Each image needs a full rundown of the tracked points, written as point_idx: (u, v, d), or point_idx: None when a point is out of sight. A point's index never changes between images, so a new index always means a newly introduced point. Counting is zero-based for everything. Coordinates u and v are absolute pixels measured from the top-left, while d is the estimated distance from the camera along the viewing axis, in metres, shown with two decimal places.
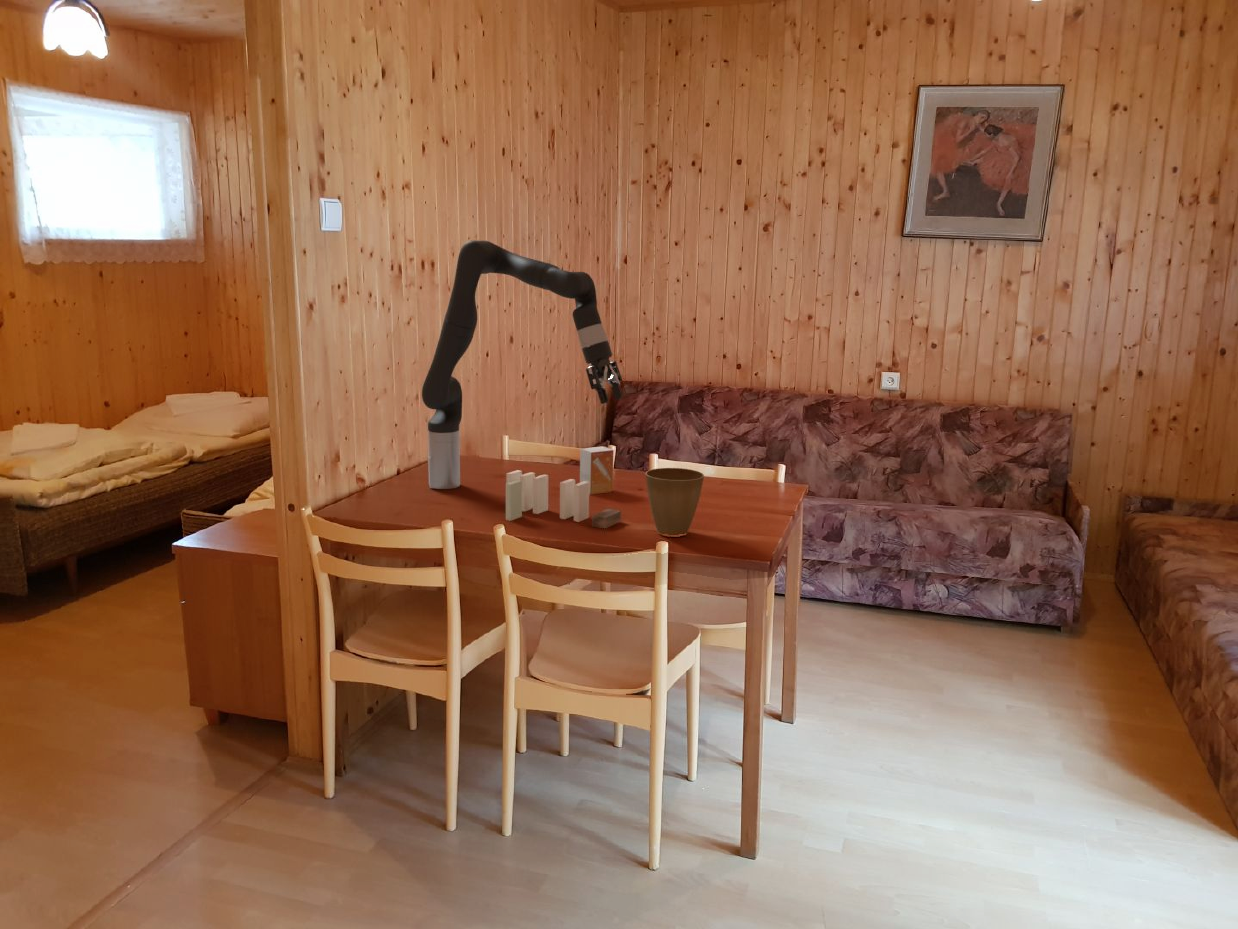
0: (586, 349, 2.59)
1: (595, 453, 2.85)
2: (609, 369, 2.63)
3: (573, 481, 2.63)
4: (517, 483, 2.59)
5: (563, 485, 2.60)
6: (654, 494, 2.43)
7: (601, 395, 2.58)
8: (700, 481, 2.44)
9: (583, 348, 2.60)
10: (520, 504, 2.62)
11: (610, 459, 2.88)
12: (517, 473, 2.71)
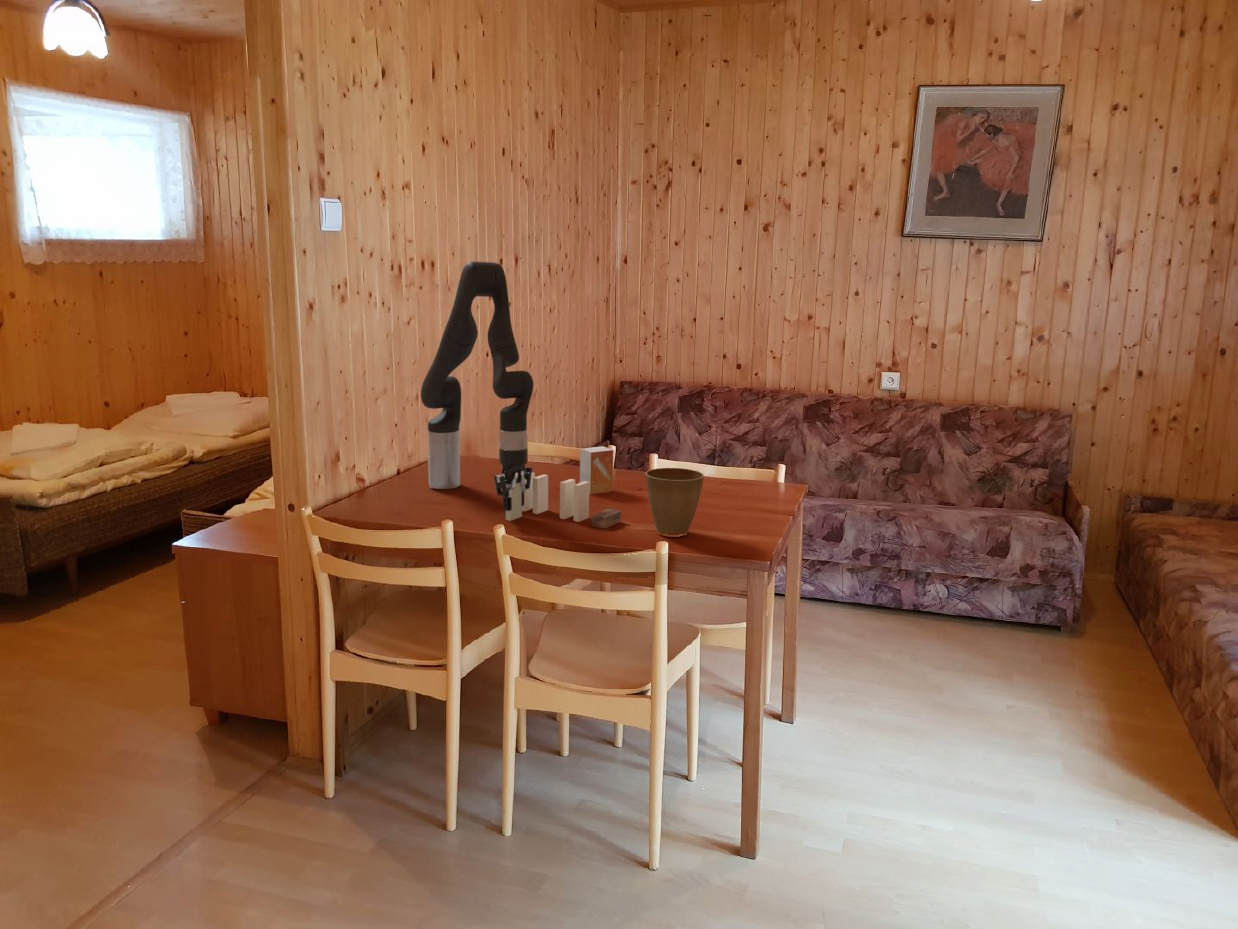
0: (502, 451, 2.55)
1: (595, 453, 2.85)
2: (520, 475, 2.59)
3: (573, 481, 2.63)
4: (517, 483, 2.59)
5: (563, 485, 2.60)
6: (654, 494, 2.43)
7: (505, 503, 2.57)
8: (700, 481, 2.44)
9: (500, 449, 2.55)
10: (520, 504, 2.62)
11: (610, 459, 2.88)
12: None
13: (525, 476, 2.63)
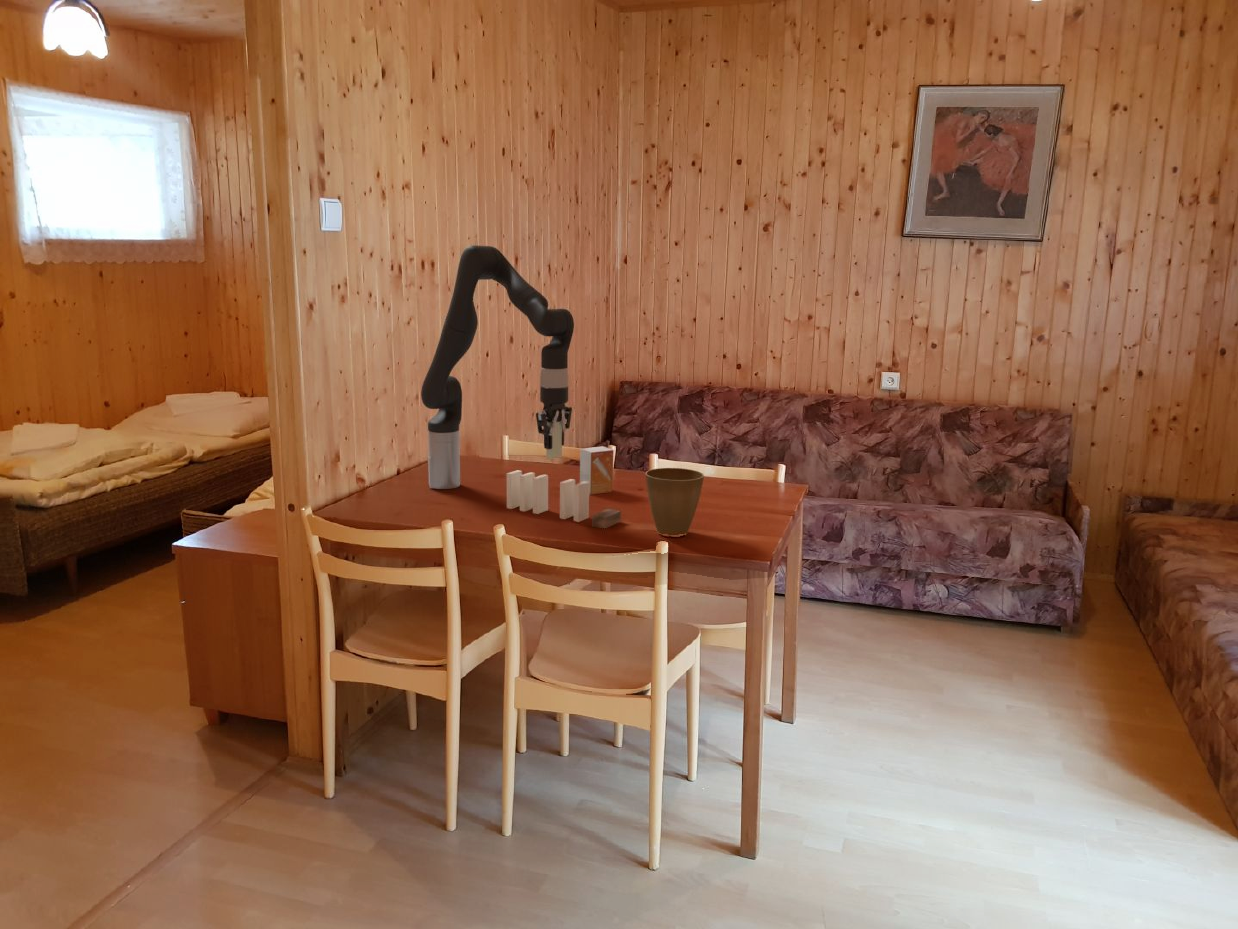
0: (543, 389, 2.56)
1: (595, 453, 2.85)
2: (560, 413, 2.60)
3: (573, 481, 2.63)
4: (558, 422, 2.61)
5: (563, 485, 2.60)
6: (654, 494, 2.43)
7: (546, 441, 2.58)
8: (700, 481, 2.44)
9: (541, 387, 2.57)
10: (560, 443, 2.63)
11: (610, 459, 2.88)
12: (517, 473, 2.71)
13: (565, 416, 2.64)
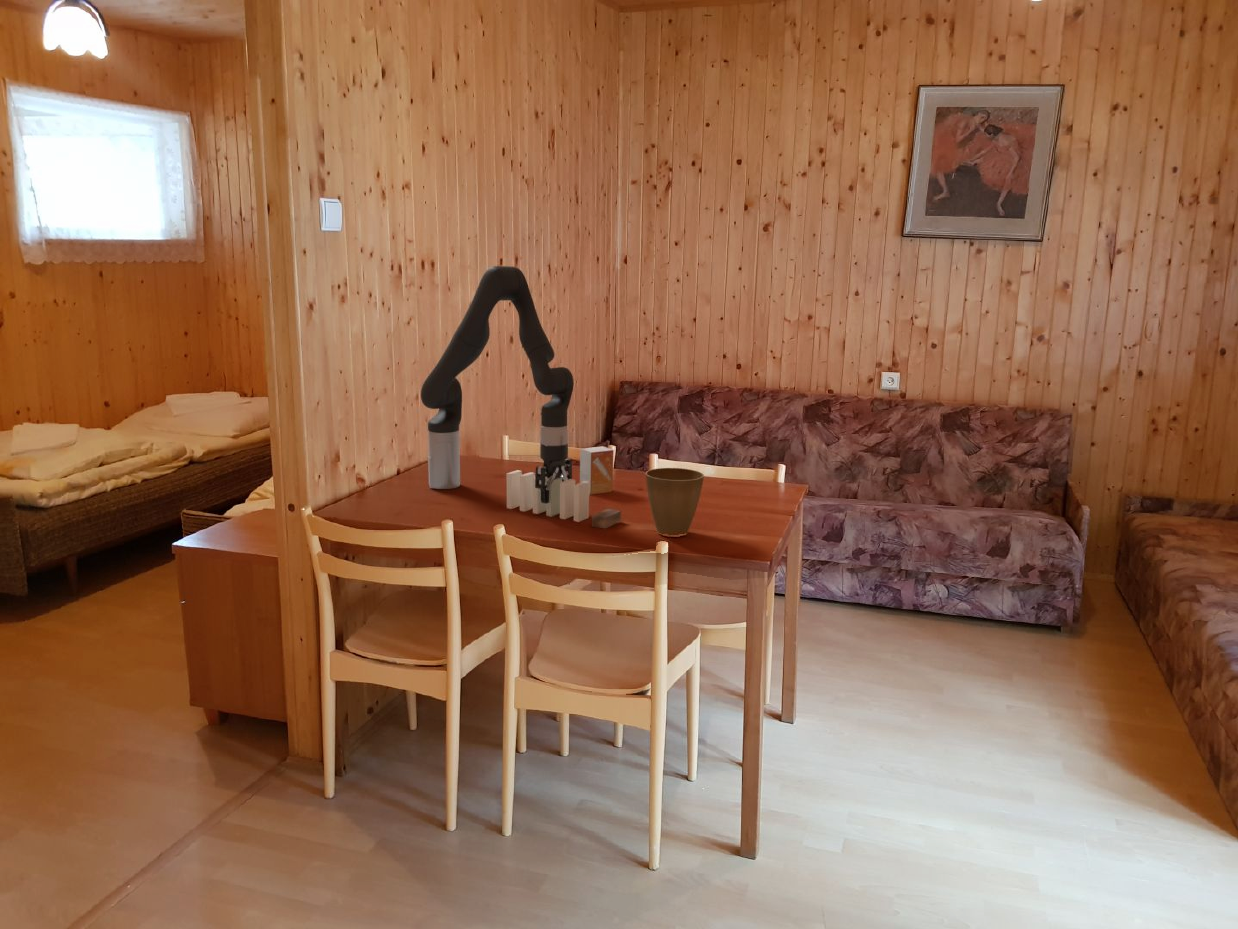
0: (543, 447, 2.59)
1: (595, 453, 2.85)
2: (560, 470, 2.63)
3: (573, 481, 2.63)
4: (558, 479, 2.64)
5: (563, 485, 2.60)
6: (654, 494, 2.43)
7: (543, 495, 2.60)
8: (700, 481, 2.44)
9: (541, 444, 2.60)
10: None
11: (610, 459, 2.88)
12: (517, 473, 2.71)
13: (566, 468, 2.68)
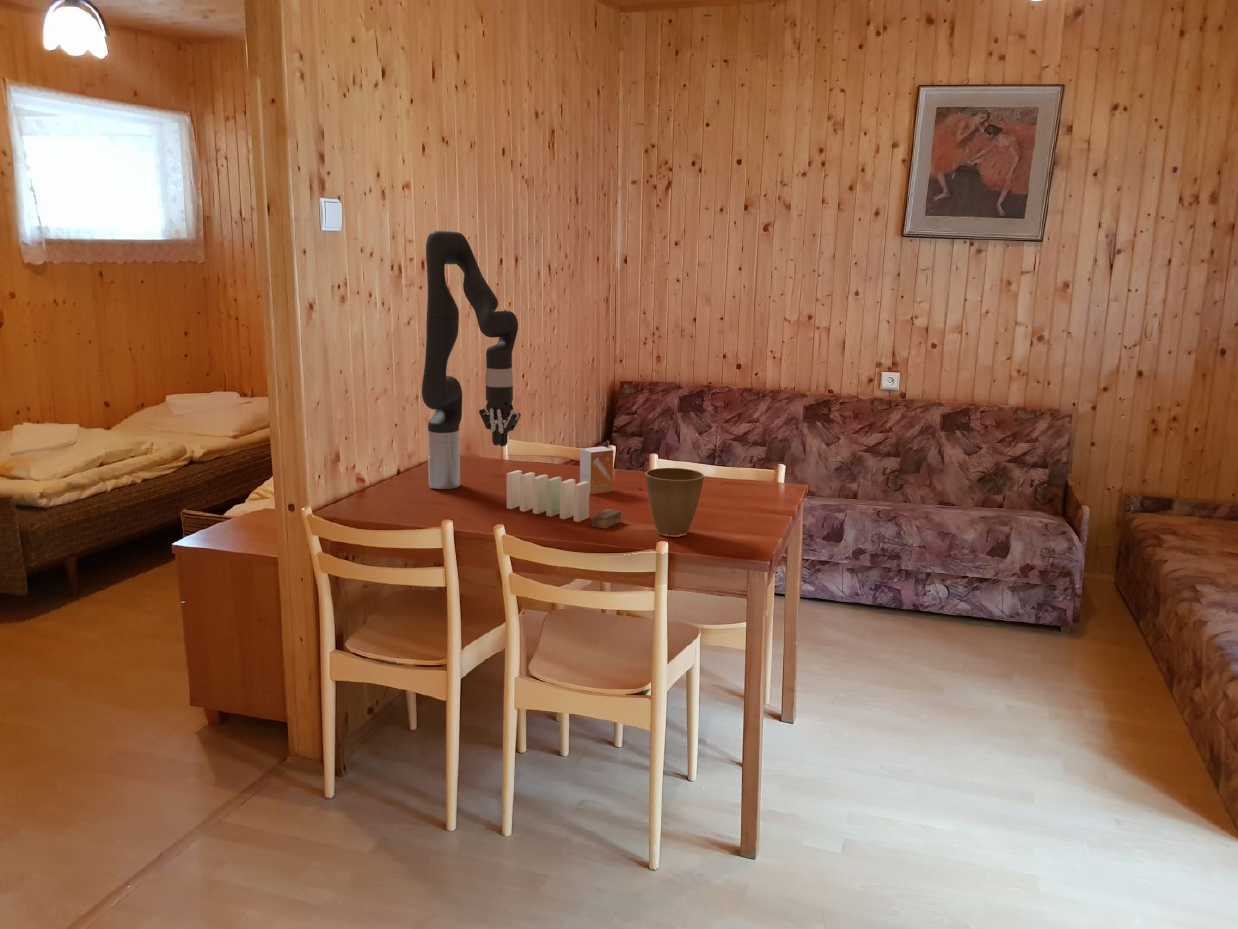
0: None
1: (595, 453, 2.85)
2: None
3: (573, 481, 2.63)
4: (557, 479, 2.64)
5: (563, 485, 2.60)
6: (654, 494, 2.43)
7: None
8: (700, 481, 2.44)
9: None
10: None
11: (610, 459, 2.88)
12: (517, 473, 2.71)
13: None
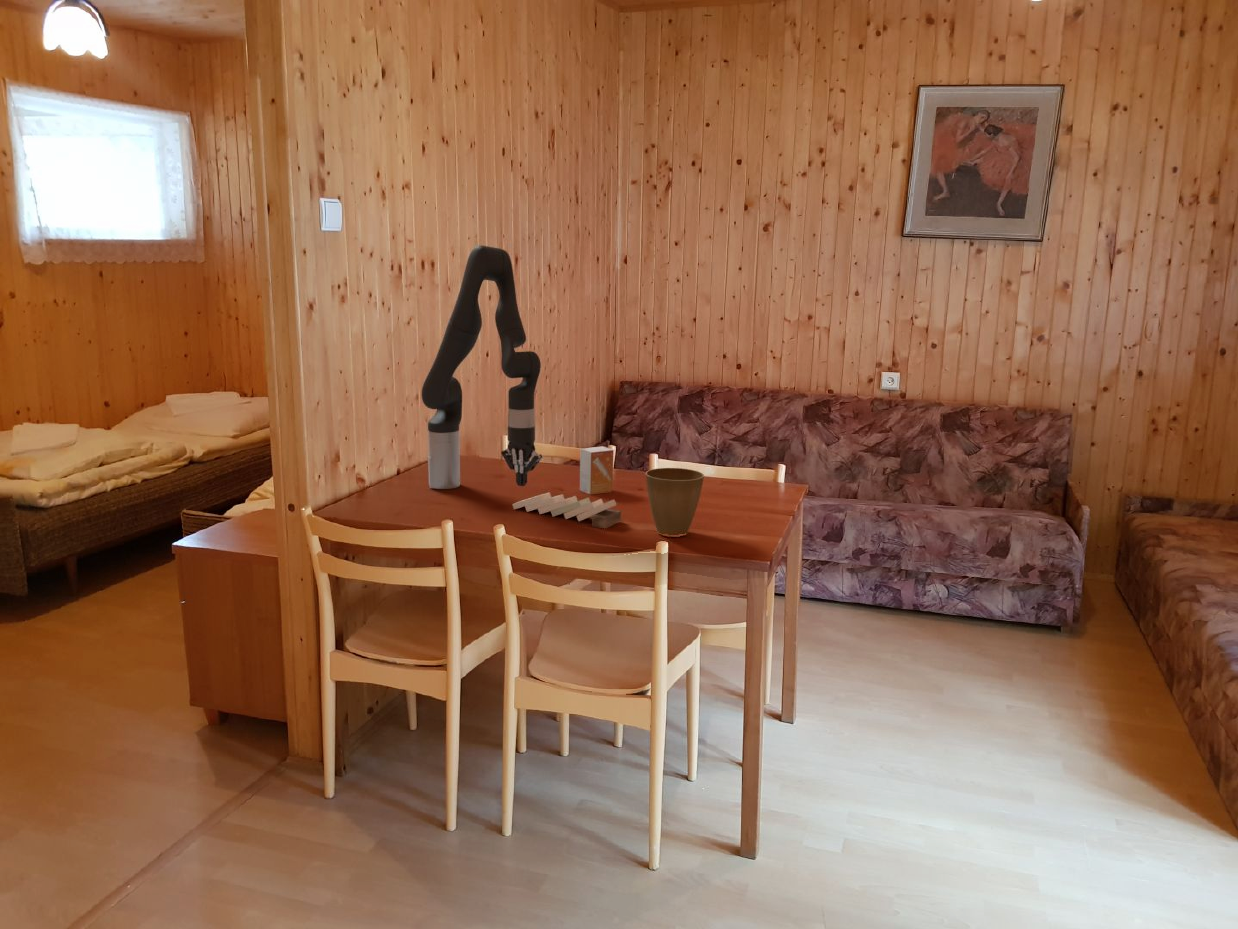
0: None
1: (595, 453, 2.85)
2: None
3: None
4: (586, 504, 2.61)
5: (591, 507, 2.56)
6: (654, 494, 2.43)
7: None
8: (700, 481, 2.44)
9: None
10: None
11: (610, 459, 2.88)
12: None
13: None
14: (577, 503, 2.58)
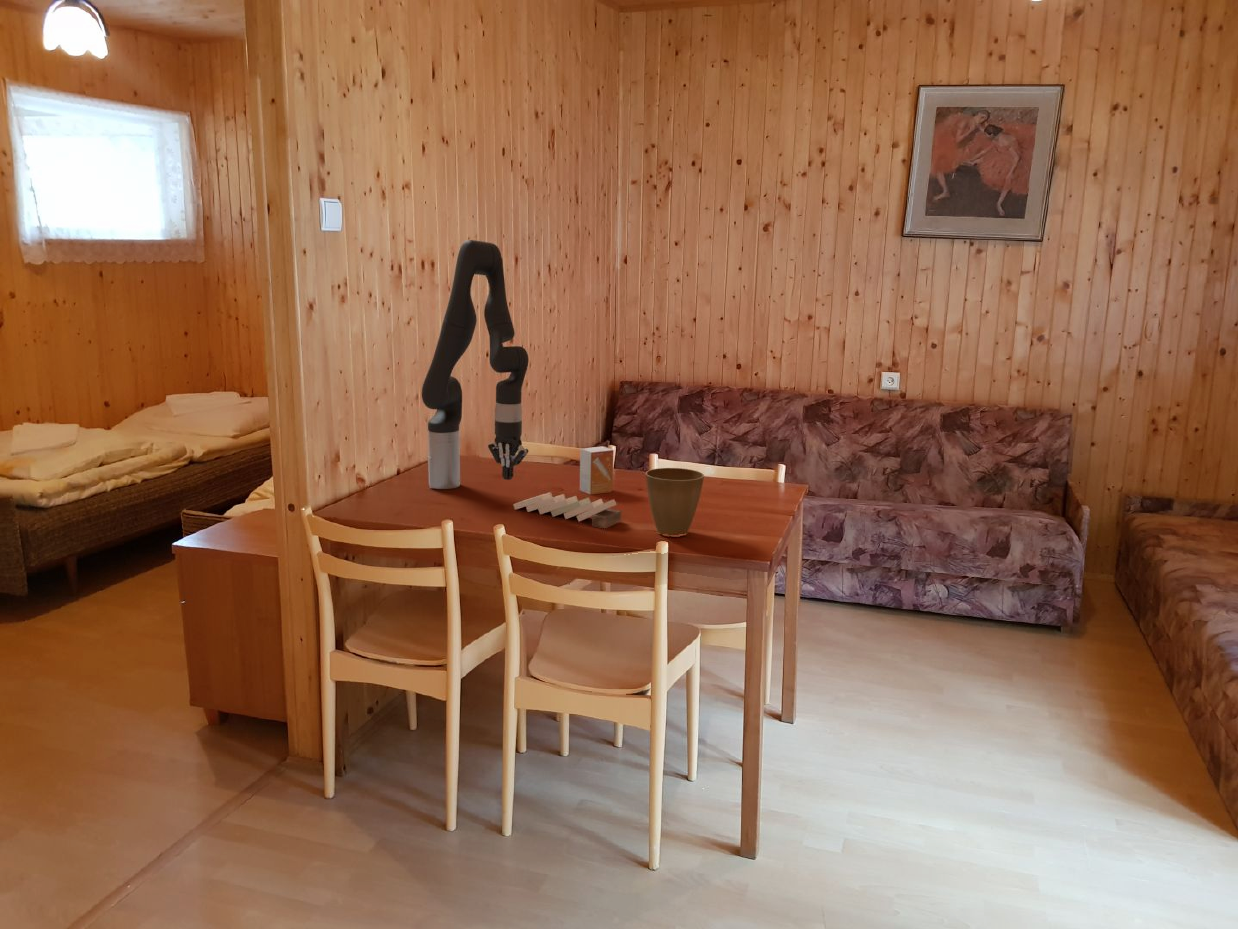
0: None
1: (595, 453, 2.85)
2: None
3: None
4: (586, 504, 2.61)
5: (591, 507, 2.56)
6: (654, 494, 2.43)
7: None
8: (700, 481, 2.44)
9: None
10: None
11: (610, 459, 2.88)
12: None
13: None
14: (577, 503, 2.58)
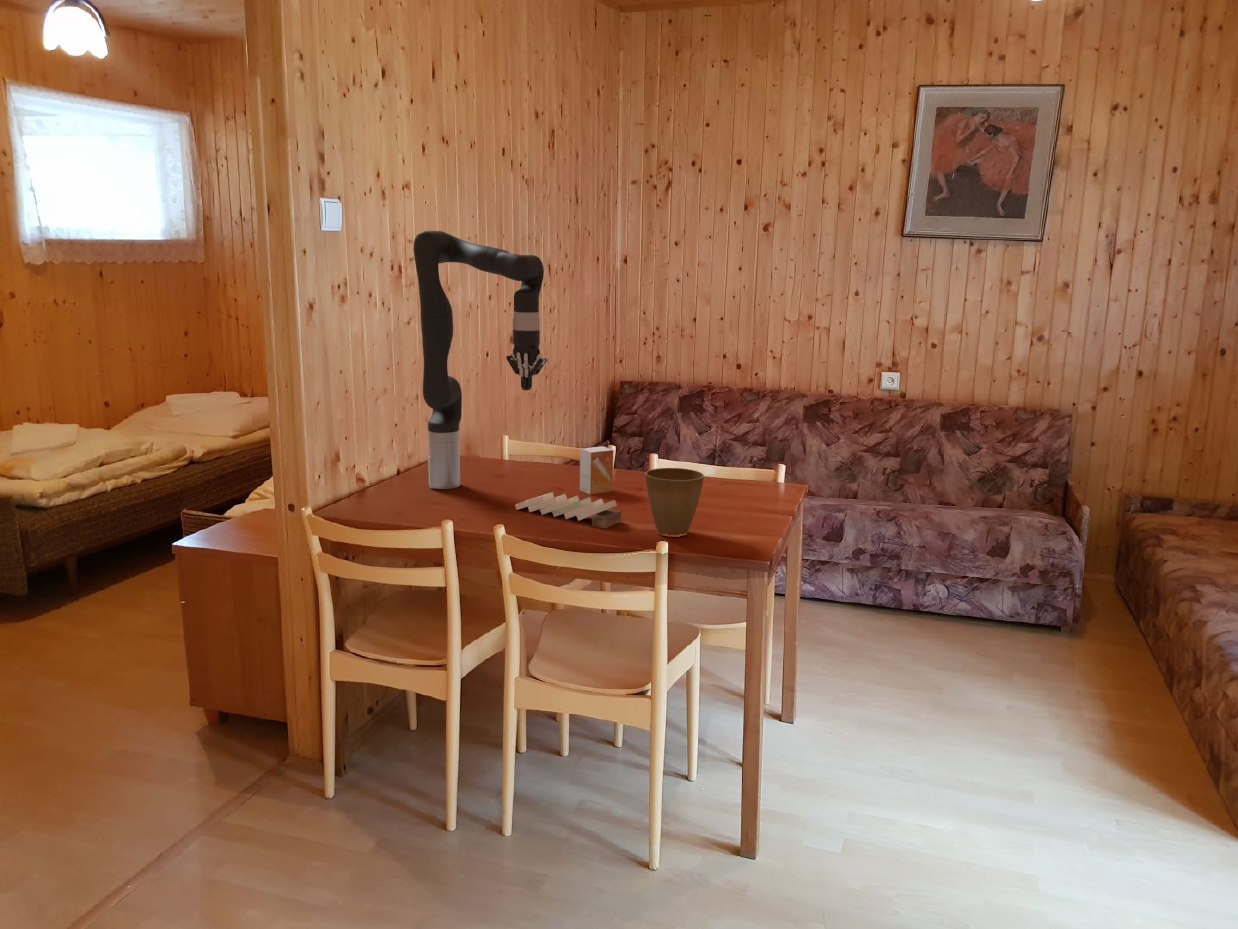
0: None
1: (595, 453, 2.85)
2: None
3: None
4: None
5: (591, 507, 2.56)
6: (654, 494, 2.43)
7: None
8: (700, 481, 2.44)
9: None
10: None
11: (610, 459, 2.88)
12: (548, 499, 2.67)
13: None
14: (578, 503, 2.58)
